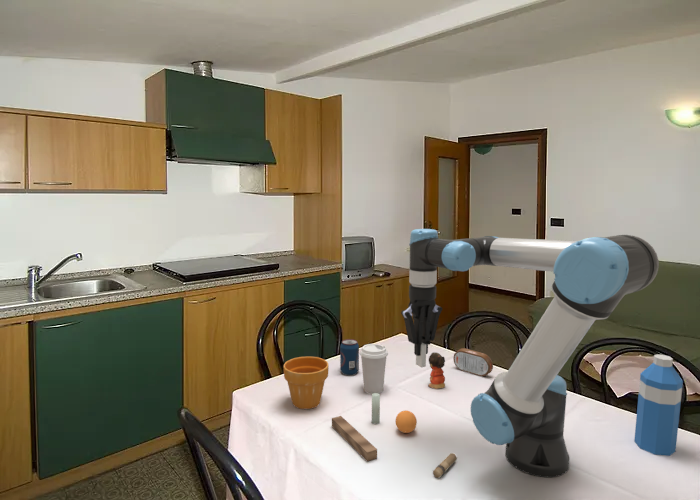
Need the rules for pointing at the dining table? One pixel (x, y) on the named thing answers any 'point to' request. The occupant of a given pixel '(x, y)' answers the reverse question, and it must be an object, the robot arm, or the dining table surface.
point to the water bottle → (658, 407)
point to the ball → (406, 421)
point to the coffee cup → (373, 367)
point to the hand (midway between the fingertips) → (420, 365)
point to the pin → (444, 465)
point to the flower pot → (306, 380)
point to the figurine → (436, 371)
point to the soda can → (349, 357)
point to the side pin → (375, 408)
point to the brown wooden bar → (354, 438)
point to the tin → (473, 362)
